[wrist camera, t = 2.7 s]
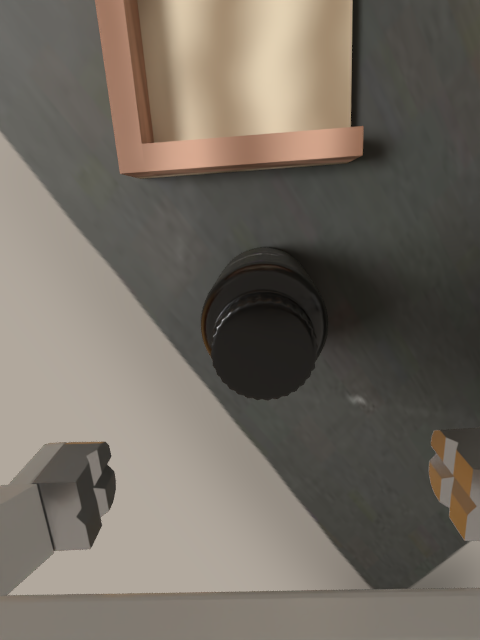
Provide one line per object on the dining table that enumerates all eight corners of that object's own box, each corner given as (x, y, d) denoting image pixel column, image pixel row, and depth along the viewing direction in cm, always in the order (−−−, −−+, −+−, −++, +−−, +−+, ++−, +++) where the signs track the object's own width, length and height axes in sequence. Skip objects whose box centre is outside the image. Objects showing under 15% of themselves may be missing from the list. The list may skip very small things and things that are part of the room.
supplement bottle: (260, 225, 27) (263, 238, 15) (328, 290, 28) (379, 348, 16) (197, 295, 28) (156, 355, 17) (264, 354, 29) (269, 448, 18)
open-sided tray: (350, -127, 21) (370, -202, 17) (346, 163, 25) (362, 155, 21) (104, -98, 22) (71, -163, 18) (140, 178, 26) (120, 173, 22)
